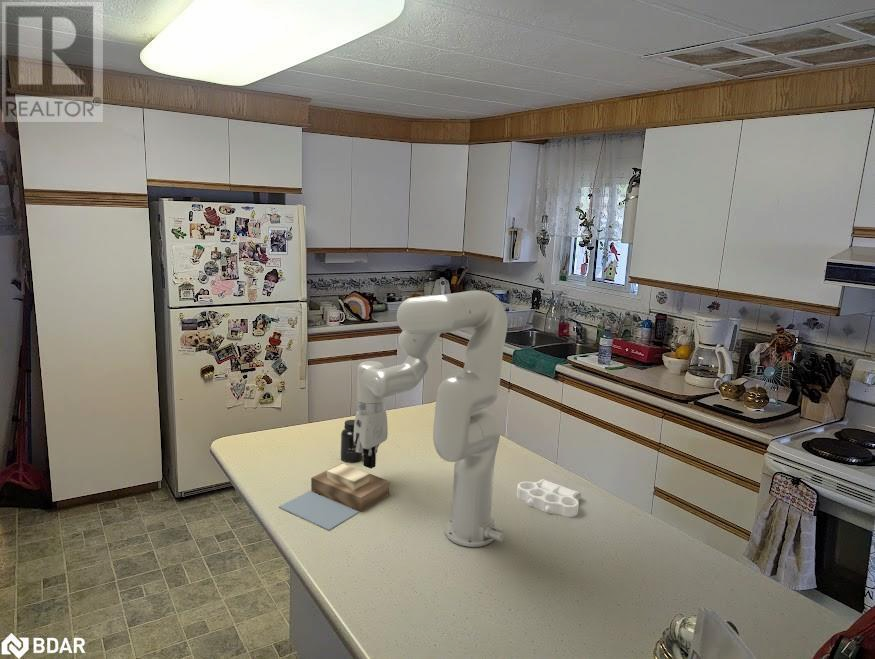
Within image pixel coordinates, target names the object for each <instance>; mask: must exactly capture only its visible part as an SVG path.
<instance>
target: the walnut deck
mask: <svg viewBox="0 0 875 659" xmlns="http://www.w3.org/2000/svg"><path fill="white" fill-rule="evenodd" d="M340 464H343V463H341V462H340V463H339V464H337V465H334V466H333V467H331V468H328V469H327V470H324V471H323V472H321V473H318V474H316V475H315V476H314V475H313V476H312V477H310V478H311V479H310V480H311V482H310V484H311V485H310V487H311V488H310V491H312V492H314V493H316V494H320V495H321V496H323V497H326V498H328V499H331V500H333V501H335V502H338V503H340V504H342V505H345V506H347V507H350V508H353V509H354V510H357V511H359V513H360V512H362V510H363V511H365V510H366V509H367V507H368V508H369V507H371V506H372V505H374V504H376V503H377V502H379V501H381V500H382V498H383V499H384V498H386V497H387V495H388V496H389V495H390V487H391V486H390V485H391V484H390V483H391V481H390V480H387V479H385V478H382V477H379V476H378V475H374V474H371V473H369V482H368V483H367V484H365V485H363V486H361V487H359V488H357V489H356V490H352V489H350V488H347V487H345V486H342V485H340V484H337V483H335V482H332V481H330V480H327V471H328V470H330V469H332V468H334V467H336V466H338V465H340ZM346 465H347V466H349V465H348V464H346ZM354 468H355V469H358V468H356V467H354ZM358 470H360V469H358ZM362 471H363V472H366V471H364V470H362ZM366 473H368V472H366Z"/></svg>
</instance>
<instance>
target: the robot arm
mask: <svg viewBox="0 0 875 659" xmlns="http://www.w3.org/2000/svg"><path fill="white" fill-rule="evenodd" d="M396 321H397V322H396V323H397V325H398V327H399V328H400V330H402V331H401V333H400V335H398V336H399V337H398V345H399V347H400V349H401V350H402V351H403V352H404V354H406V355H408V356H407V358H406V359H405V360H404V362H403V363H402V364H397V365H394V366H390V367H389V366H388V367H385V365H384V364H383V363H382V362H380V361H376V360H366V361H363V362H361V363H359V364H358V365H357V377H356V378H357V382H356V386H357V387H356V389H357V391H356V408H355V409H356V412H355V418H354V420H355V423H354V445H355V446H356V452H358V453H362V455H363V464H362V465H363V467H365V468H368V469H373V468H375V467H376V464H377V463H376V462H377V453H378V448H379V447H380V445H381V444H382V443H384V442H386V441H387V440H388V433H389V430H388V428H389V427H388V426H389V425H388V415H387V411H386V410H387V409H386V407H385V398H389V397H393V396H396V395H399V394H403V393H406V392H408V391H411V390H413V389H415V388H416V387H418V385H419V383H421V382H422V379H423V378H424V377H425V375H426V374H427V373H428V370H429V367H430V354H429V352H430V351H431V349H432V348H433V347H434V344H435V343H436V342H437V340H438V338H439V337H440V335H441V334H443V333H444V334H445V333H453V332H457V331H464V330H468V329H473V333H472V334H471V337H470V338H469V341H468V342H467V346H466V350H465V356H464V357H465V360H464V366H463V368H462V370H461V371H460V372H457V373H454V374H451V375H448V376H447V377H446V378H444V379H443V380H442V381H441V383H440V384H439V386H438V389H437V391H436V396H435V407H434V408H435V409H434V421H433V429H432V430H433V432H432V436H433V437H432V439H433V446H434V449H435V451H436V453H437V454H438V456H439V457H440V458H441V459H442V460H444V461H446V462H449V463H454V468H453V487H452V488H453V490H452V509H451V519H450V520H449V521H448V522H446V524H445V527H444V533H445V536H446V538H448V539H449V540H450V541H451V542H452V543H455V544H457V545H460V546H462V547H469V548H476V547H477V548H478V547H479V548H480V547H483V546H488V545H489V544H491V543H492V542H494V540H495V541H498V542H500V543H501V542H502V541H503V539H504V536H505V535H504V532H505V531H504V528H502V527H500V526H497V525H496V524H495V518H494V517H492V505H493V504H492V501H493V490H494V489H493V487H494V473H495V462H496V455H497V452H498V448H499V447H498V446H499V443H500V440H501V439H500V438H501V427H500V426H501V425H500V423H499V420H498V418H497V417H496V415H495V414H494V413H493V412H492V411H489V410H487V409H485V408H489V407H490V406H492V405H493V404H495V402H496V401H497V399H498V396H499V392H500V386H501V376H502V375H501V374H502V367H503V366H502V365H503V355H504V348H505V342H506V338H507V331H508V317H507V313H506V310H505V307H504V306H503V303H502V302H501V301H500V300H499V298H498V297H496V295H494V294H493V293H490V292H488V291H485V290H478V289H477V290H468V291H461V292H453V293H447V294H446V293H445V294H437V295H436V294H432V295H431V294H430V295H429V294H428V295H422V296H421V295H419V296H415V297H409V298H407V299H405V300H404V301H402V302H401V304H400V305H399V306H398V309H397V311H396Z"/></svg>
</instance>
